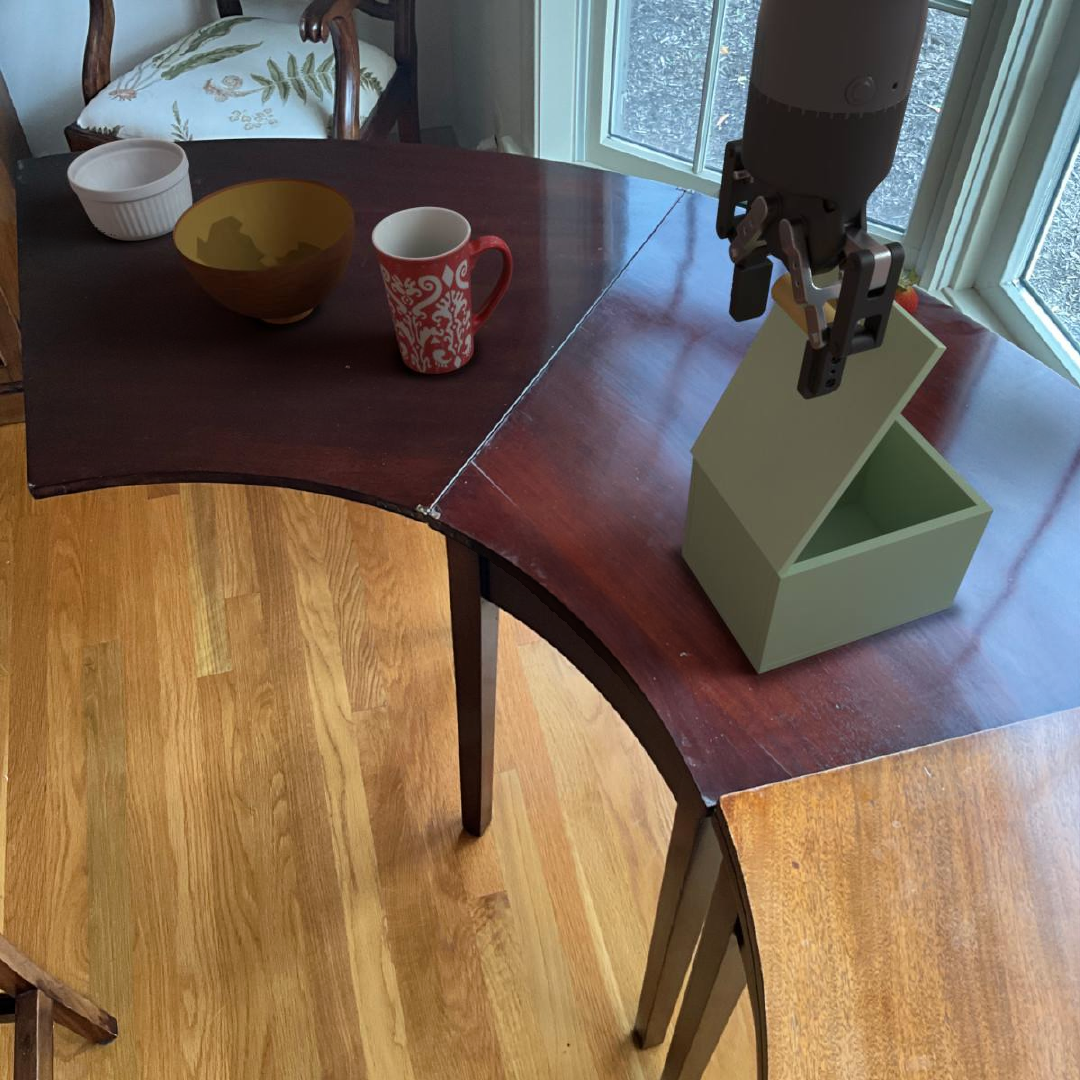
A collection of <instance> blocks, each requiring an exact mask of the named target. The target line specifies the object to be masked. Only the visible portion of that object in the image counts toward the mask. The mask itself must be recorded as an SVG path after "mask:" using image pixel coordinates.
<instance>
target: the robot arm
mask: <svg viewBox="0 0 1080 1080" xmlns="http://www.w3.org/2000/svg"><path fill="white" fill-rule="evenodd" d="M929 4H930V0H761V1H760V5H759V10H758V13H757V19H756V25H755V33H754V41H753V49H752V56H751V64H750V71H749V81H748V88H747V96H746V105H745V113H744V120H743V128H742V136H741V137H740V138H738V139H733V140H729V141H727V142H726V143H725V147H724V154H723V162H722V170H721V177H720V178H721V179H720V185H719V194H718V195H719V196H718V203H717V212H716V220H715V231H716V235H717V237H718V239H719V240H726V239H727V240H728V242H729V246H728V257H729V260H730V261H731V263H732V264H734V266H733V273H732V282H731V288H730V294H729V295H730V297H729V298H730V299H729V308H728V314H729V316H730V317H731V318H732V319H733V320H734V322H736V323H743V322H746V321H751V320H753V319H758V318H760V317H762V316H763V315H764V314H765V312H766V310H767V305H768V300H769V293H770V288H771V287H770V286H771V282H772V275H773V269H774V262H773V261H772V260H771V258H769V256H772V257H773V258H775V259H778V260H780V261H781V263H782V264H783V266H784V268H785V269H786V271H787V273H790V276H791V282H792V289H793V295H794V300H795V302H796V304H797V305H799V306H802V307H803V308H804V310H805V316H806V323H807V329H808V336H809V340H807V341H806V346H805V351H804V356H803V360H802V365H801V370H800V375H799V380H798V385H797V391H798V392H799V393H800V394H801V395H802V397H803V398H804V399H812V398H815V397H819V396H823V395H826V394H829V393H831V392H833V391H836V390H837V389H838V388H839V386H840V384H841V380H842V376H843V371H844V368H845V364H846V360H847V356H849V355H853V354H856V353H860V352H864V351H868V350H871V349H875V348H878V347H880V346H881V345H882V343H883V339H884V335H885V331H886V328H887V324H888V320H889V316H890V312H891V309H892V305H893V301H894V297H895V293H896V290H897V286H898V282H899V278H900V275H901V271H902V267H903V268H904V263H905V258H906V253H905V249H904V247H903V244H901V242H899V241H892V242H888V243H885V244H880V243H879V242H878V241H876V240H875V239H874V238H873V237H872V236H870V235H869V234H868V220H867V219H868V218H867V208H868V207H867V206H868V201H869V198H870V197H871V196H872V195H873V193H874V192H875V191H876V189H877V188H878V187H879V186H880V185H881V184H882V182H883V181H884V180H885V179H887V177H888V175H889V174H890V172H891V170H892V168H893V164H894V160H895V157H896V152H897V148H898V145H899V140H900V135H901V133H902V132H901V131H902V129H903V128H902V127H903V124H904V120H905V116H906V112H907V107H908V102H909V98H910V95H911V91H912V87H913V83H914V78H915V75H916V71H917V67H918V62H919V58H920V54H921V50H922V47H923V42H924V37H925V32H926V27H927V22H928V15H929ZM742 202H746V205H745V206H746V207H745V213H741V214H735V213H736V207H737V206H738V204H740V203H742ZM838 265H839V278H838V280H837V281H836V282H835V283H832V284H828V285H824V286H820V287H816V286H815V285H814V284H813V282H812V276H816V275H820V274H824V273H828V272H830V271H832V270H833V269H834V268H835V267H837V266H838ZM832 299H835V300H836V303H837V308H836V312H835V317H834V321H833V322H830V323H826V316H825V309H824V305H825V303H826V302H827V301H828V300H832ZM863 318H865V321H864V325H861V324H860V319H863Z"/></svg>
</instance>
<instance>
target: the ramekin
mask: <svg viewBox="0 0 1080 1080" xmlns="http://www.w3.org/2000/svg"><path fill="white" fill-rule="evenodd" d="M189 167H190V165H189V160H188V156H187V154H186V152H185V149H183V148H182V146H181V145H179V144H177V143H175V142H173V141H170V140H166V139H162V138H157V137H156V138H155V137H133V138H124V139H119V140H115V141H110V142H106V143H103V144H100V145H98V146H95V147H93V148H91V149H88V150H86V151H85V152H83V153H82V154H80V155H78V156H77V157H76V158H75V159H74V160H73V161H72V162H71V163H70V164H69V166H68V167H67V171H66V176H67V180H68V182H69V186H70V187H71V189H72V190H73V192H74V193H75V194H76V195H77V197H78V199H79V201H80V203H81V205H82V207H83V209H84V211H85V213H86V214H87V216H88V218H89V220H90V222H91V224H92V225H93V224H94V225H93V226H94V227H95V228H96V227H97V228H98V229H97V228H96V229H97V230H98V231H99V232H100V233H103V232H105V233H103V234H104V235H105V236H107V237H110V238H112V239H114V240H120V241H134V242H135V241H145V240H149V239H155V238H158V237H161V236H164V235H166V234H169V233H171V232H173V230H174V227H175V224H176V222H177V220H178V219H179V218H180V216H181V215H182V214H183V213H184V212H185V211H186V210H187V209H188V208H189V207H190V206H192V205H193V195H192V193H193V192H192V187H191V182H190V174H189ZM100 230H101V231H100ZM110 234H112V235H110ZM114 235H116V236H114Z"/></svg>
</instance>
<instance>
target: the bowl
mask: <svg viewBox="0 0 1080 1080" xmlns="http://www.w3.org/2000/svg"><path fill="white" fill-rule="evenodd" d="M355 237H356V221H355V214H354V209H353V206H352V203H351V202H350V200H349V199H348V197H347V196H346V195H345V194H344V193H343V192H341V191H340V190H338V189H336V188H334V187H333V186H331V185H328V184H326V183H322V182H319V181H316V180H312V179H307V178H306V179H305V178H295V177H273V178H261V179H256V180H249V181H245V182H241V183H237V184H233V185H229V186H227V187H223V188H222V189H219V190H217V191H213V192H212V193H210V194H207V195H206V196H204V197H202V198H200V199H198V200H197V201H196V202H194V203H192V206H190V207H189V208H188V209H187V210H186V211H185V212H184V213H183V214H182V215H181V216H180V218H179V219H178V220H177V222H176V224H175V227H174V230H173V231H172V240H173V244H174V247H175V250H176V252H177V254H178V257H179V259H180V260H181V263H182V264H183V266H184V267H185V269H186V270H187V272H188V273H189V274H190V277H191V278H192V279H193V280H194V281H195V282H196V284H198V286H200V287H201V289H202V290H203V291H204V292H206V294H208V295H209V296H210V297H211V298H213V299H214V300H215V301H216V302H217V303H219V304H221V305H222V306H224V307H225V308H227V309H229V310H230V311H233V312H235V313H237V314H239V315H242V316H247V317H250V318H254V319H260V320H262V321H264V322H266V323H269V324H275V325H284V324H290V323H291V324H292V323H295V322H298V321H300V320H302V319H304V318H305V317H307V316H308V315H310V314H311V313H312V311H313V310H314V308H316V307H318V306H319V305H321V304H322V303H323V302H325V301H326V300H328V298H329V297H330V296H332V295H333V293H335V291H336V289H337V288H338V286H339V285H340V283H341V282H342V280H343V278H344V276H345V274H346V272H347V271H348V270H347V269H348V267H349V264H350V260H351V258H352V254H353V250H354V245H355Z"/></svg>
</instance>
